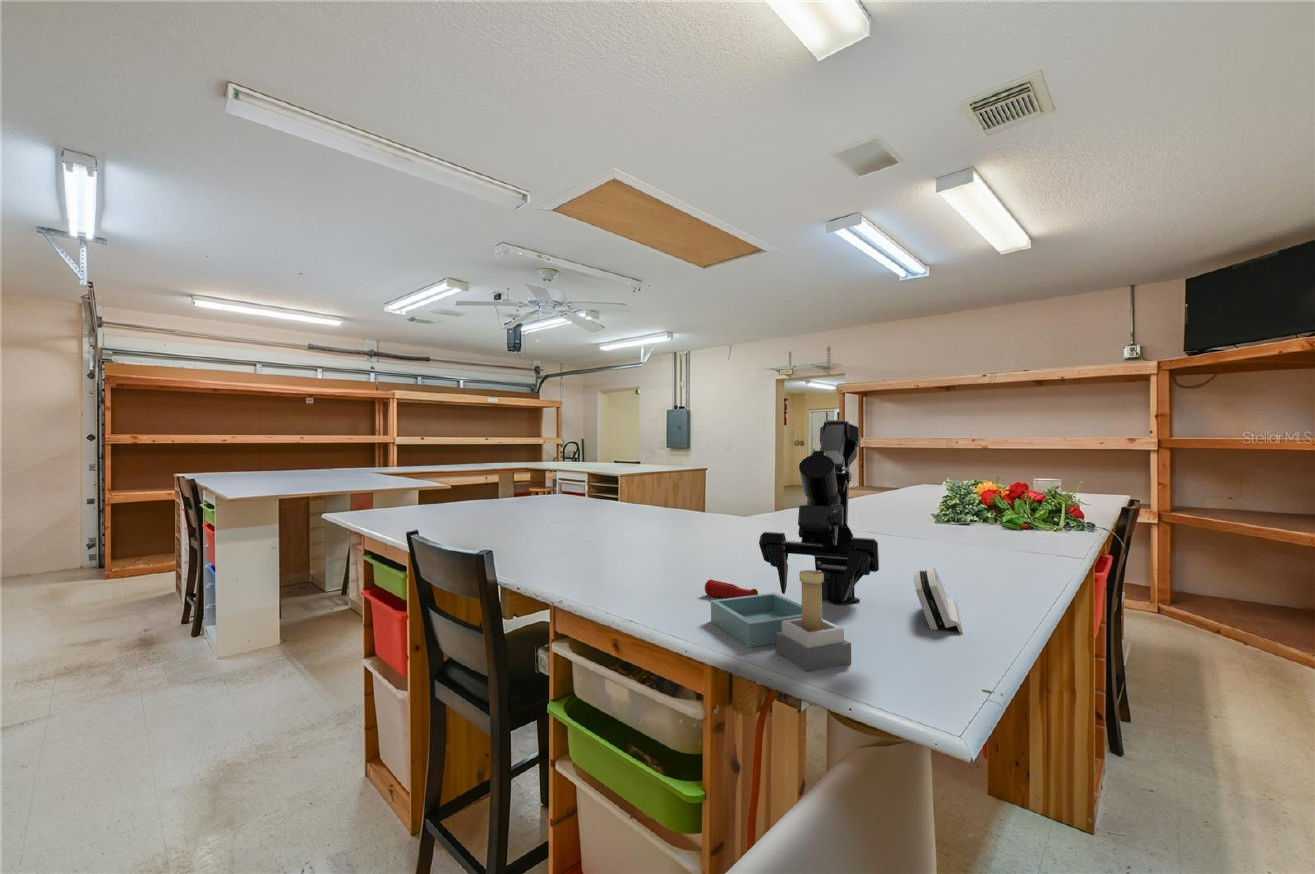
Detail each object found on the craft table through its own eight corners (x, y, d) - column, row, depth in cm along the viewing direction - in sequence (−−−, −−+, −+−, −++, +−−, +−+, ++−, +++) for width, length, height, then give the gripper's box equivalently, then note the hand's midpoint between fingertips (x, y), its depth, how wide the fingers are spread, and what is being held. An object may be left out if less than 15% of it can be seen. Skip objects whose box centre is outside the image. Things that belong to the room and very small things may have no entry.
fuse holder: (817, 644, 86) (816, 614, 86) (851, 663, 78) (850, 629, 78) (775, 651, 83) (775, 620, 83) (807, 671, 75) (806, 637, 75)
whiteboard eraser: (963, 634, 90) (940, 577, 92) (934, 639, 92) (912, 583, 94) (958, 607, 105) (938, 559, 107) (933, 612, 107) (914, 564, 109)
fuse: (814, 632, 83) (813, 569, 83) (829, 640, 79) (828, 574, 80) (795, 635, 82) (794, 571, 82) (809, 643, 78) (809, 576, 78)
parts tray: (774, 612, 103) (774, 592, 103) (820, 635, 89) (820, 613, 90) (711, 620, 98) (710, 600, 98) (749, 647, 85) (749, 624, 85)
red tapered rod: (810, 621, 97) (809, 602, 97) (703, 596, 114) (703, 580, 114) (818, 616, 100) (818, 598, 100) (712, 593, 117) (712, 577, 117)
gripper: (761, 485, 91) (744, 561, 80) (877, 488, 83) (874, 572, 72) (771, 524, 98) (757, 599, 87) (879, 531, 90) (878, 613, 79)
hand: (812, 595), depth 81 cm, fingers open, 9 cm apart
